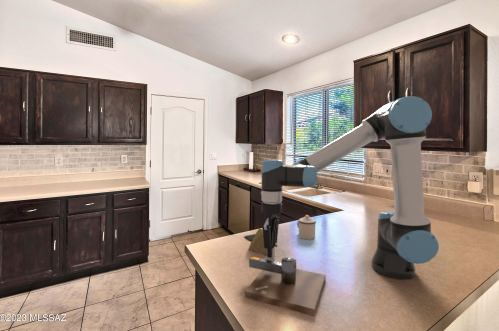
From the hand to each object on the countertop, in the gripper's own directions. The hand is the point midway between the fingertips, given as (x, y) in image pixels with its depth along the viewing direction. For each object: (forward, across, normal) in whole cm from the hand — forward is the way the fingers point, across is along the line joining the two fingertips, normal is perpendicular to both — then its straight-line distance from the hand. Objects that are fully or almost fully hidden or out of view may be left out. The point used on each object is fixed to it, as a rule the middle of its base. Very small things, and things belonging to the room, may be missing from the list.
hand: (270, 264), depth 97 cm
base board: (+5, +5, +8) cm, 11 cm away
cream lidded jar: (+5, -50, +2) cm, 50 cm away
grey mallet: (+2, +4, +2) cm, 5 cm away
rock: (+5, -20, -12) cm, 24 cm away
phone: (+5, -38, -20) cm, 43 cm away
